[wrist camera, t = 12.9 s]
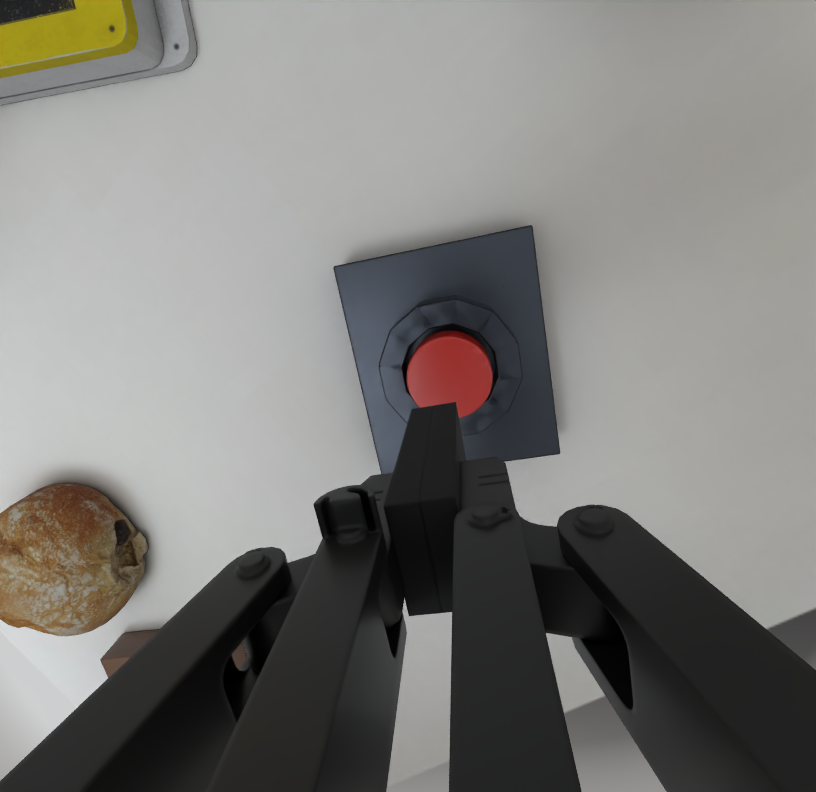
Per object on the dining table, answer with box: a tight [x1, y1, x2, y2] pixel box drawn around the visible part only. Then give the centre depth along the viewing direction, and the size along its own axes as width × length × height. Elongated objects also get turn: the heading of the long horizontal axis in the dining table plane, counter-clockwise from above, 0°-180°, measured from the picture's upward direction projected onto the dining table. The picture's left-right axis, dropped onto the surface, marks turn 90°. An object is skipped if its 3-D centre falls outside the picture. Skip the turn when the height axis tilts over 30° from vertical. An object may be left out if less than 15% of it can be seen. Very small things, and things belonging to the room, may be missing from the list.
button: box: [407, 330, 493, 418], centre depth 24 cm, size 4×4×2 cm
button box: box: [334, 225, 560, 474], centre depth 26 cm, size 12×10×4 cm
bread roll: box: [0, 484, 148, 636], centre depth 32 cm, size 10×10×8 cm
